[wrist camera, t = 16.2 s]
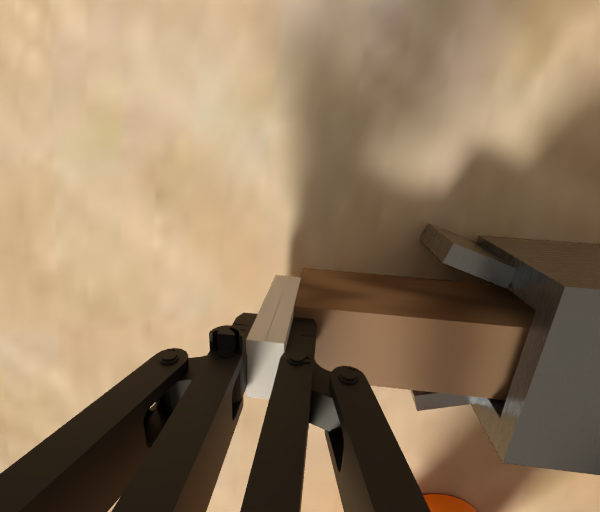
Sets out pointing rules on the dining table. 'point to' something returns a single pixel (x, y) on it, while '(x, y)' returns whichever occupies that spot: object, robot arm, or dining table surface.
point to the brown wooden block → (417, 330)
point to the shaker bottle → (447, 503)
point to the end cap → (538, 349)
